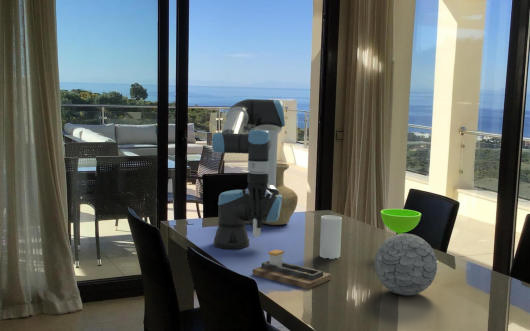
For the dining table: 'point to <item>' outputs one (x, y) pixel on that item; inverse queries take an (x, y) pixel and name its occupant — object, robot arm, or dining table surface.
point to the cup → (330, 236)
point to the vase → (284, 197)
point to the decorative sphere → (406, 264)
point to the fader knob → (276, 257)
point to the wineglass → (400, 219)
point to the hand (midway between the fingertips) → (256, 236)
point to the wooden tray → (292, 274)
